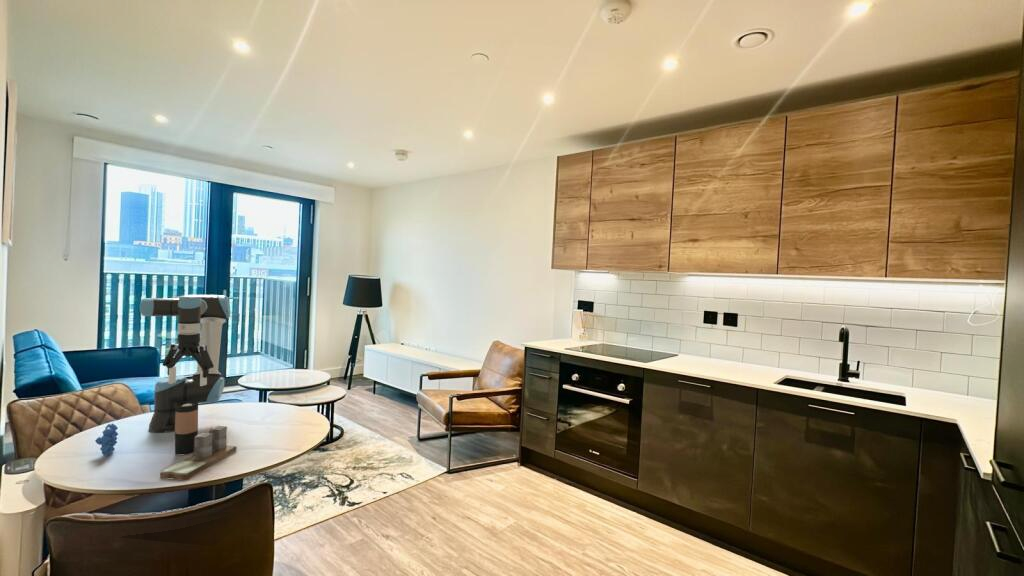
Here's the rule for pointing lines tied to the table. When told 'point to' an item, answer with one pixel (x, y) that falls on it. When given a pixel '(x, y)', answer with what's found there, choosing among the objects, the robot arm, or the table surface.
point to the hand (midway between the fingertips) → (187, 384)
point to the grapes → (108, 439)
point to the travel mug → (185, 427)
